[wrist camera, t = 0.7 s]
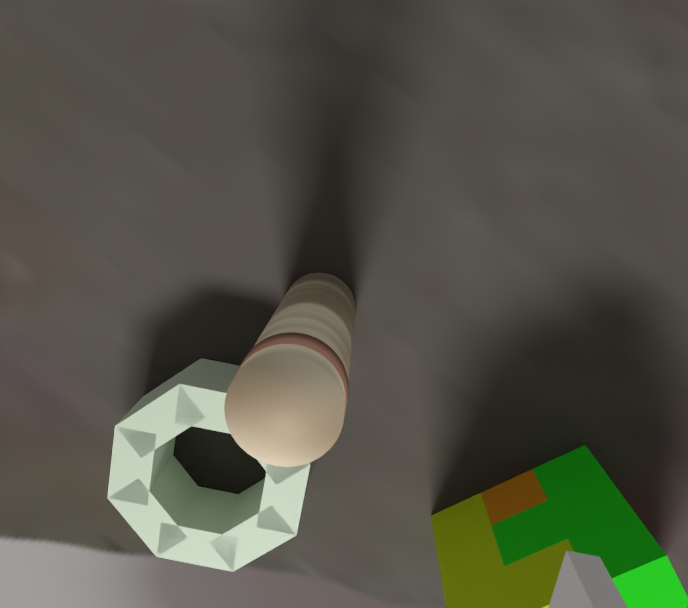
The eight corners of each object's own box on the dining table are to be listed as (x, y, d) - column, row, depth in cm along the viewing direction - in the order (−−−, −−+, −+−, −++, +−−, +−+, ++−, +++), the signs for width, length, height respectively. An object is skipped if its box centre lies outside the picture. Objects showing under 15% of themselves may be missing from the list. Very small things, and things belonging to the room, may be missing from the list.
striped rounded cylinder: (289, 265, 33) (232, 342, 19) (362, 279, 33) (356, 367, 19) (277, 335, 34) (214, 455, 20) (348, 349, 34) (333, 478, 20)
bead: (148, 347, 35) (120, 372, 31) (326, 382, 35) (320, 411, 31) (130, 505, 37) (102, 546, 33) (295, 537, 37) (287, 582, 33)
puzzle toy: (503, 638, 38) (547, 801, 29) (430, 515, 36) (452, 645, 27) (652, 576, 37) (753, 727, 27) (584, 444, 35) (666, 555, 25)
